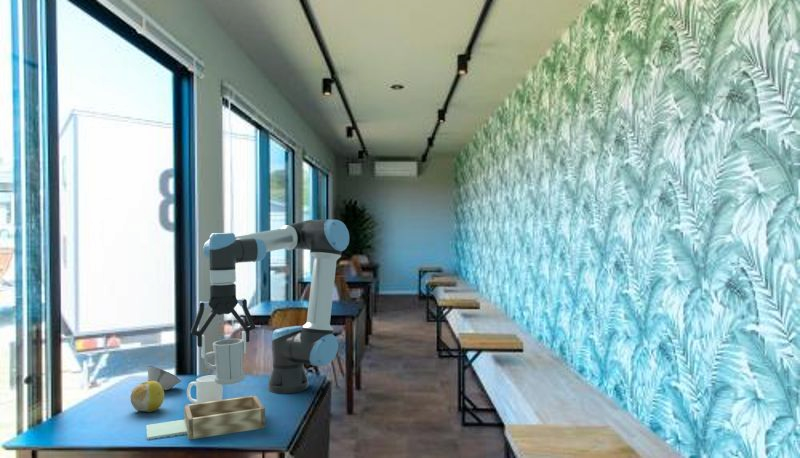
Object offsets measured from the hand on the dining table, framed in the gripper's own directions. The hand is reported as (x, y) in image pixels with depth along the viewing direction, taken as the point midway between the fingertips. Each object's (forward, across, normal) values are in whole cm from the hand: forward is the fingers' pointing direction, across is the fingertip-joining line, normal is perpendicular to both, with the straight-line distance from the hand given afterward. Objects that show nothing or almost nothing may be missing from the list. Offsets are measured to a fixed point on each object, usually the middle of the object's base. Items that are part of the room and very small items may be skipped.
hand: (224, 355), depth 168 cm
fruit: (+22, +21, -26) cm, 40 cm away
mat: (+22, +16, -3) cm, 27 cm away
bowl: (+22, +15, -50) cm, 57 cm away
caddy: (+22, 0, 0) cm, 22 cm away
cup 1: (+22, +4, -21) cm, 30 cm away
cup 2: (+8, -1, 0) cm, 8 cm away
